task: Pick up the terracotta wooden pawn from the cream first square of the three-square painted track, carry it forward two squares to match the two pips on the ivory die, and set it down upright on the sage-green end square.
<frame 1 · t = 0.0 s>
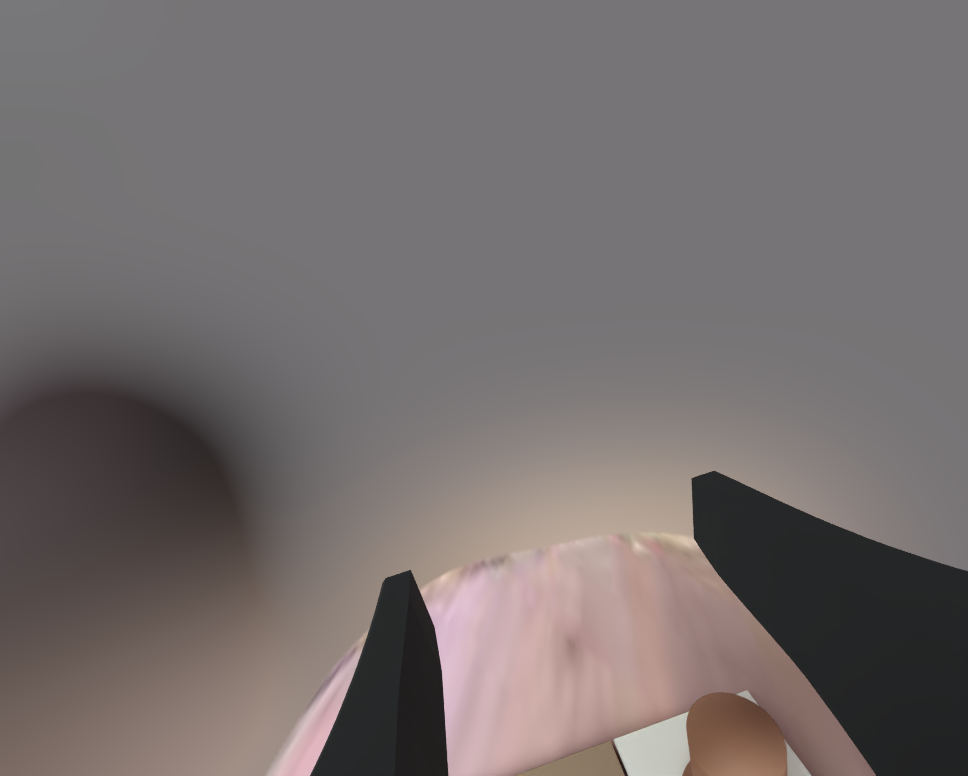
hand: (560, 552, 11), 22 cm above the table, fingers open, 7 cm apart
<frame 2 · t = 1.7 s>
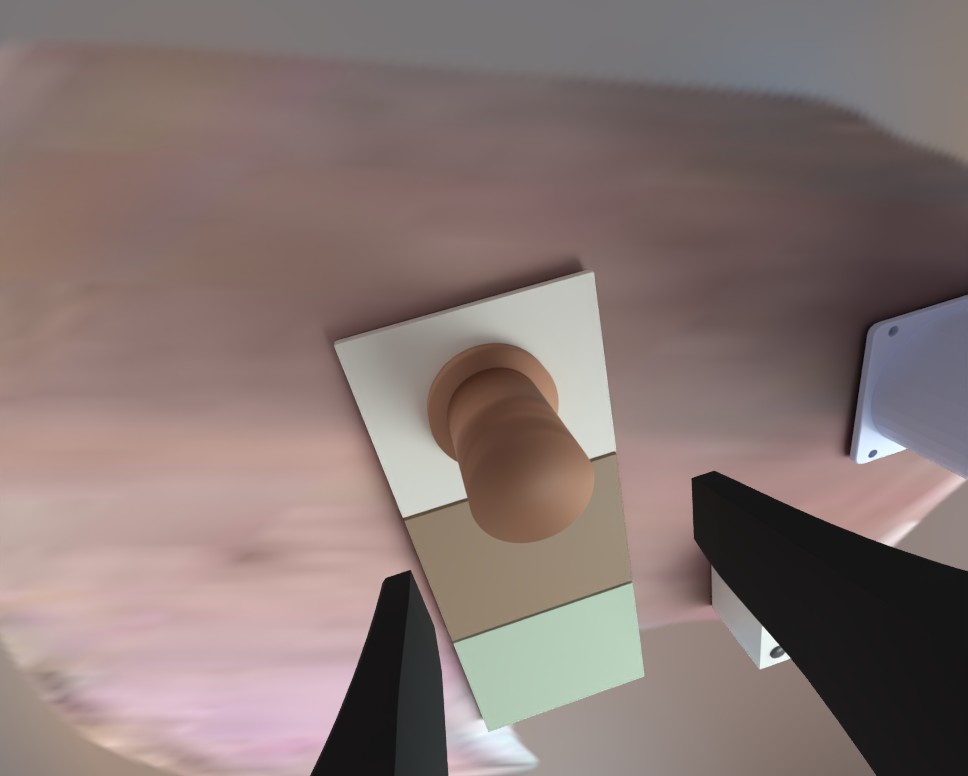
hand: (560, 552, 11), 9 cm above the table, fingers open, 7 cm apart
pawn: (491, 403, 19), resting on board
board: (526, 546, 23), on the table
die: (743, 573, 28), on the table
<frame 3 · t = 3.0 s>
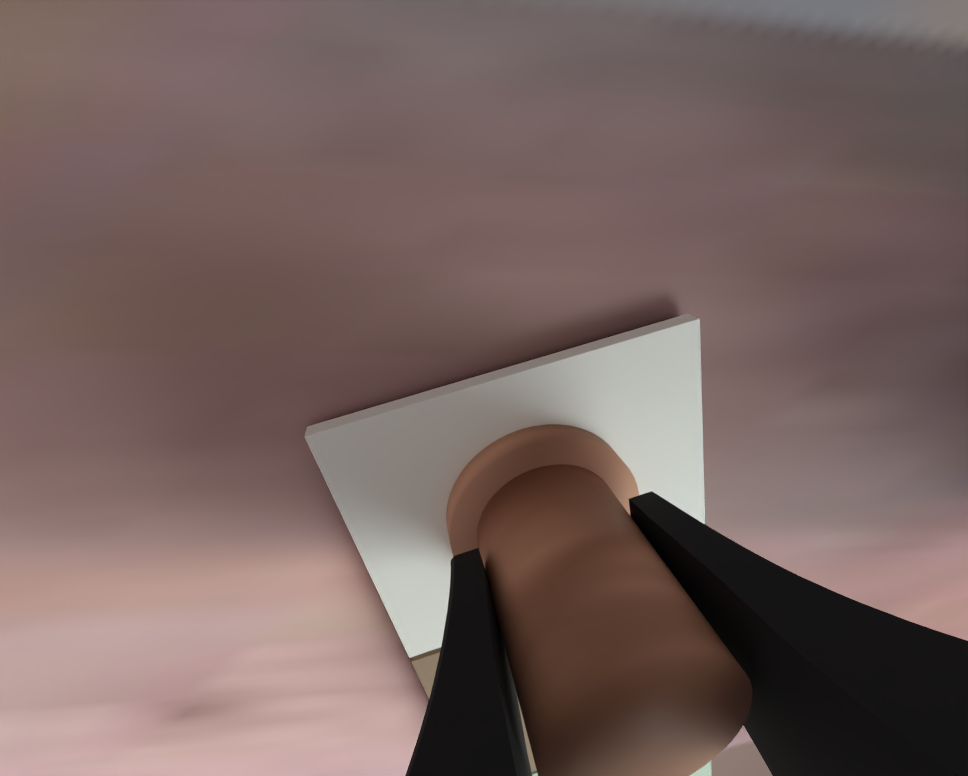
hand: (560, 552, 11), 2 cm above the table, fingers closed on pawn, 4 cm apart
pawn: (538, 506, 13), resting on board, touching gripper
board: (574, 673, 17), on the table
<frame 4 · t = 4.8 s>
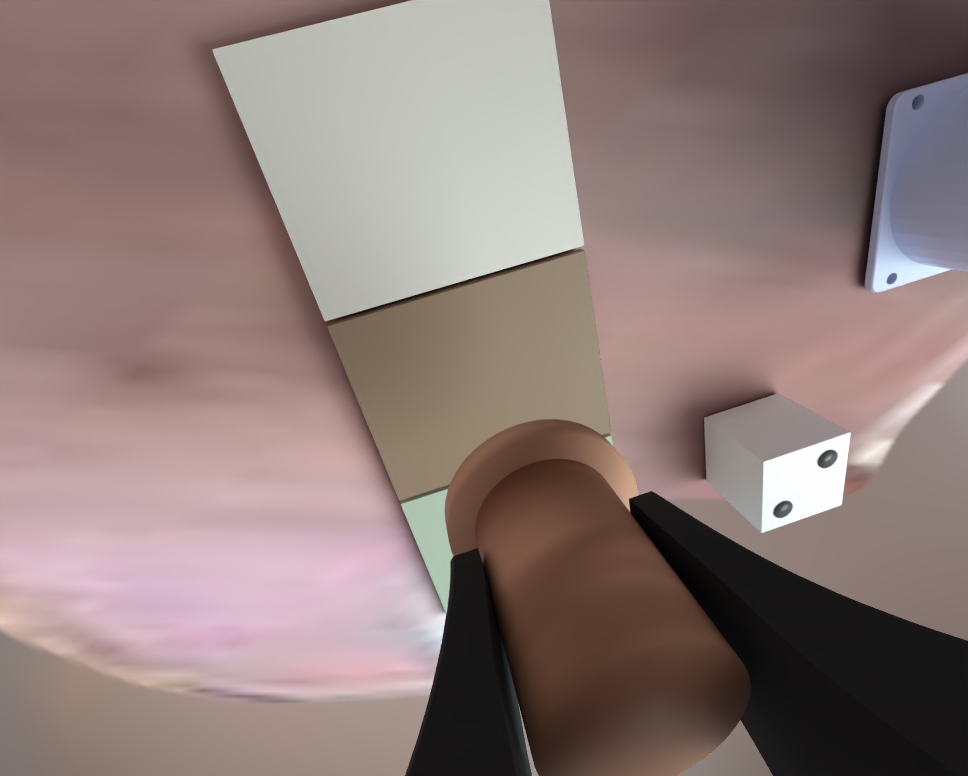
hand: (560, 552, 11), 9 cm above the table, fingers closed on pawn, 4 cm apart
pawn: (537, 502, 13), point 8 cm above the table, touching gripper
board: (482, 380, 20), on the table
die: (741, 438, 24), on the table
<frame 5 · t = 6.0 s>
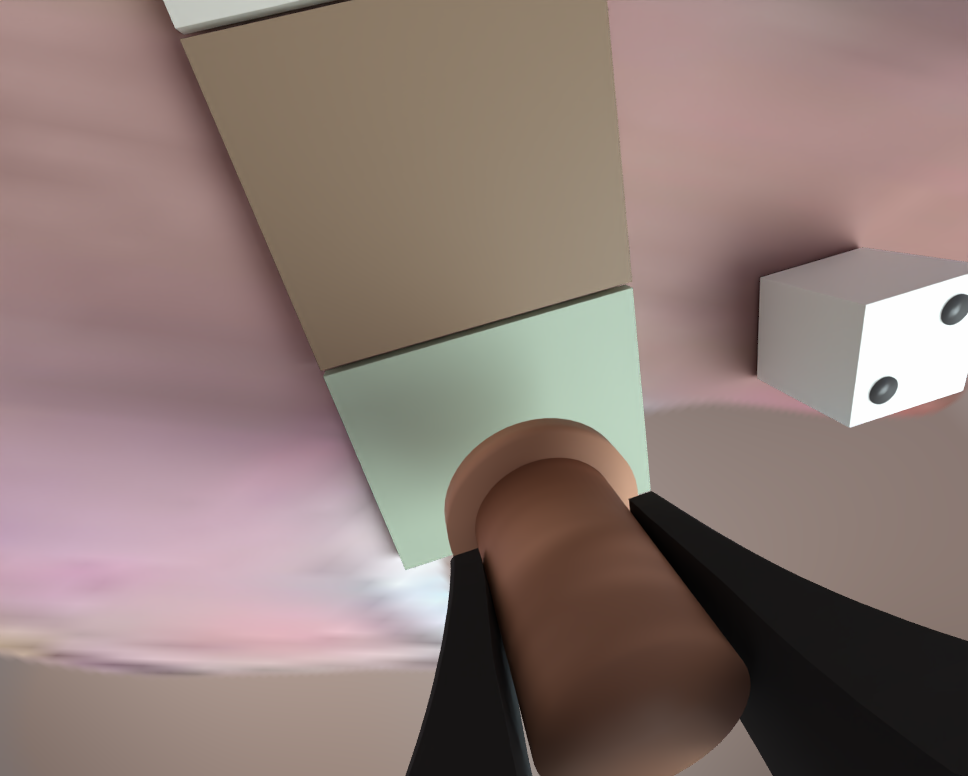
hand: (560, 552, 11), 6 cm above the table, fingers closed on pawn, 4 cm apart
pawn: (537, 501, 13), point 4 cm above the table, touching gripper
board: (443, 181, 13), on the table
die: (807, 315, 17), on the table
when the fingers open (3 cm above the table, at t = 6.8 s): pawn drops 1 cm, resting on board.
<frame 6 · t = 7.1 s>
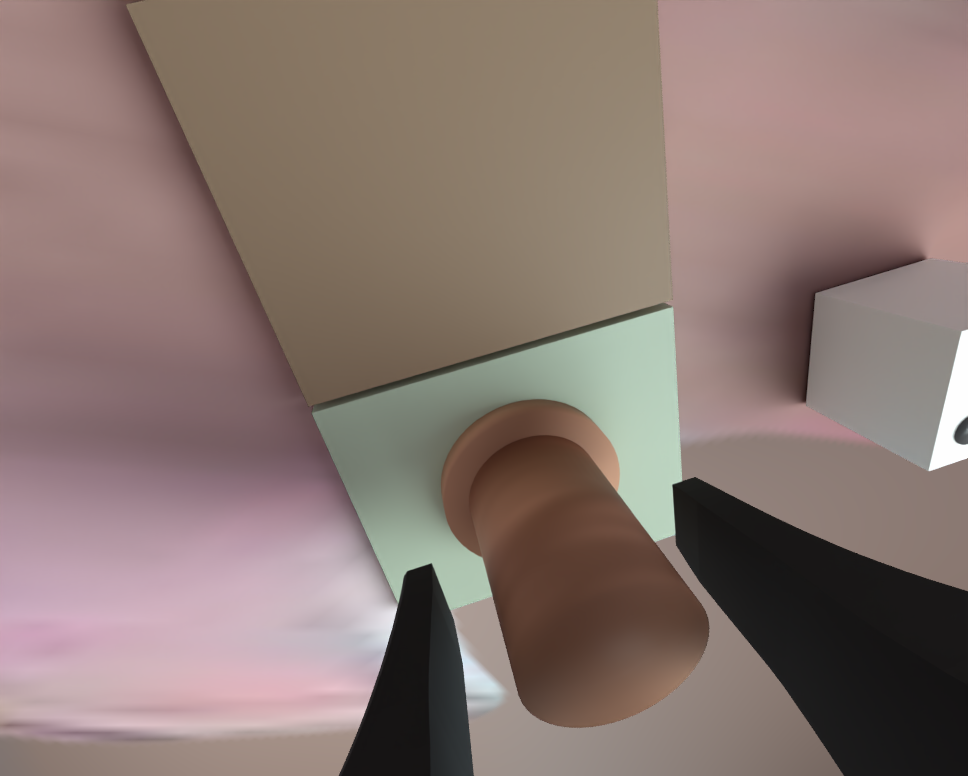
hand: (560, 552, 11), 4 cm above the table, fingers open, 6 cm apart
pawn: (526, 477, 14), point 1 cm above the table, touching board
board: (453, 183, 11), on the table
die: (865, 335, 15), on the table
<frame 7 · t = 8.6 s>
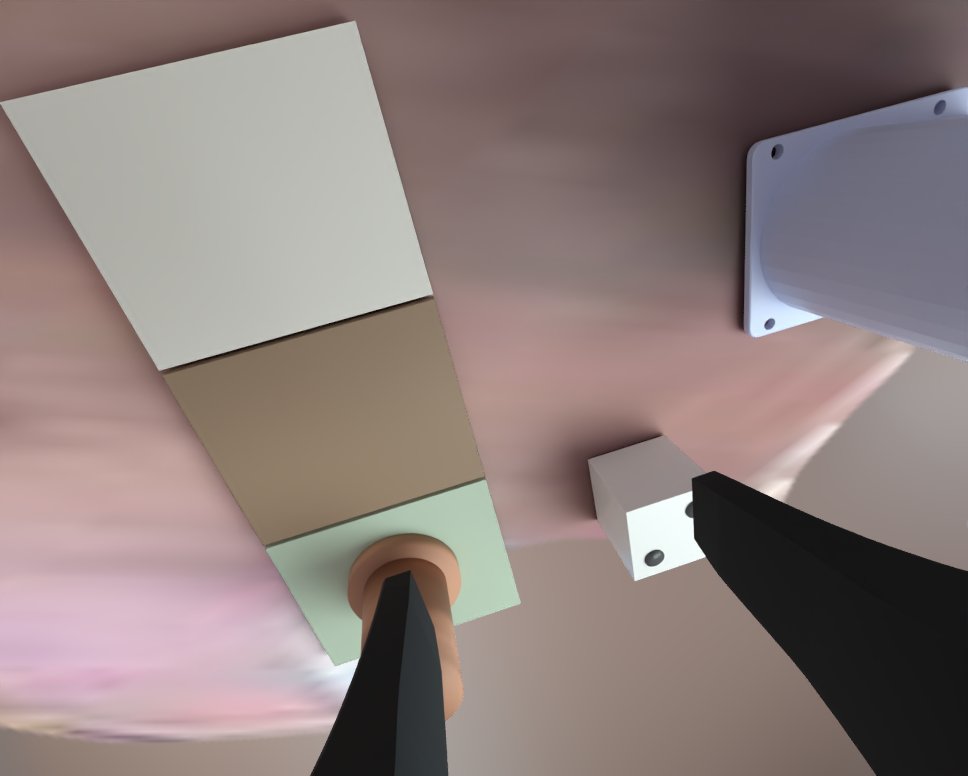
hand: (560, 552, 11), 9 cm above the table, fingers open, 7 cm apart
pawn: (405, 576, 22), resting on board
board: (343, 425, 19), on the table
die: (630, 479, 24), on the table
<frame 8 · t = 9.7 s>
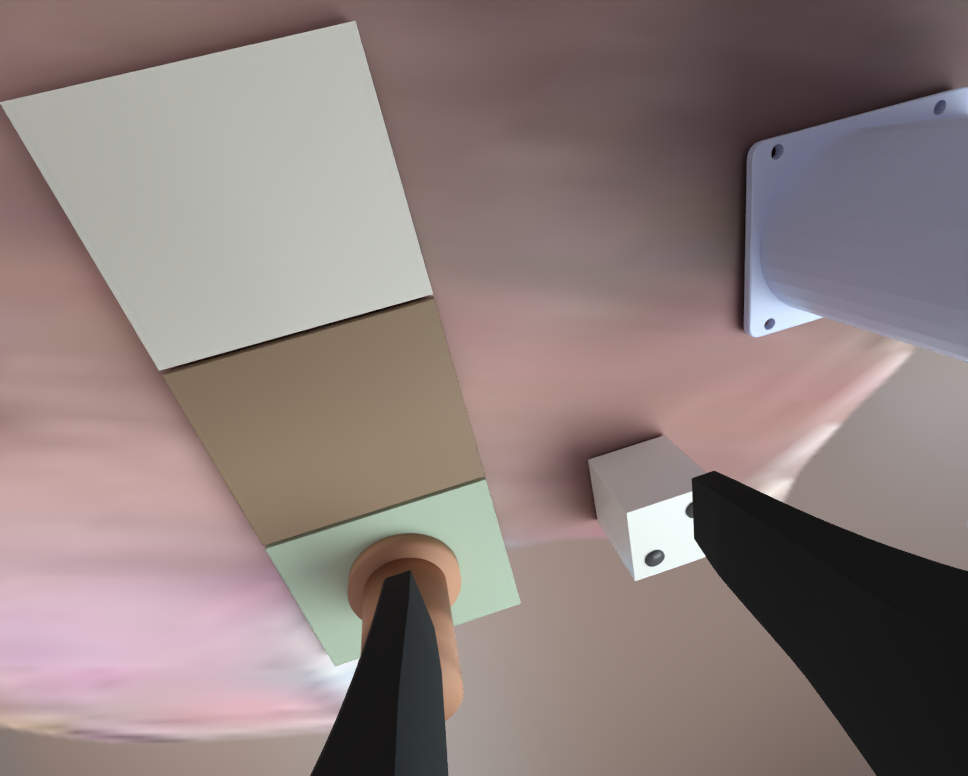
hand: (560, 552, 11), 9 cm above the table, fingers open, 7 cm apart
pawn: (405, 576, 22), resting on board
board: (343, 425, 19), on the table
die: (630, 479, 24), on the table
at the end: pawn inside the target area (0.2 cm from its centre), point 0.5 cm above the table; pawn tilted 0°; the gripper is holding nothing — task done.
